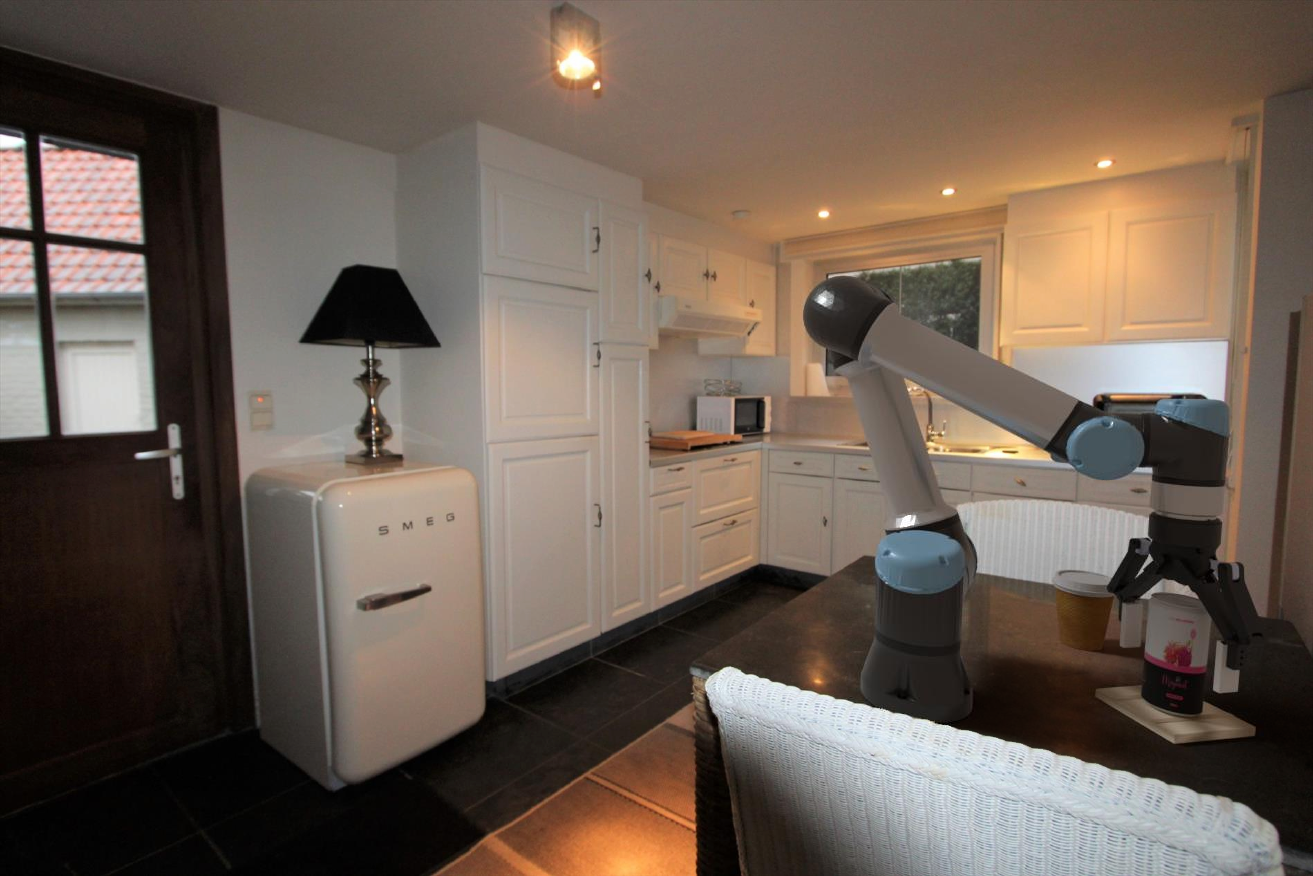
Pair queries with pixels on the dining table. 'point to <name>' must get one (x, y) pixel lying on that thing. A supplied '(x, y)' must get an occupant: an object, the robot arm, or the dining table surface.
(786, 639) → the dining table surface
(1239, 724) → the trivet
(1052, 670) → the dining table surface
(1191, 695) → the beverage can
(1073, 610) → the disposable coffee cup
